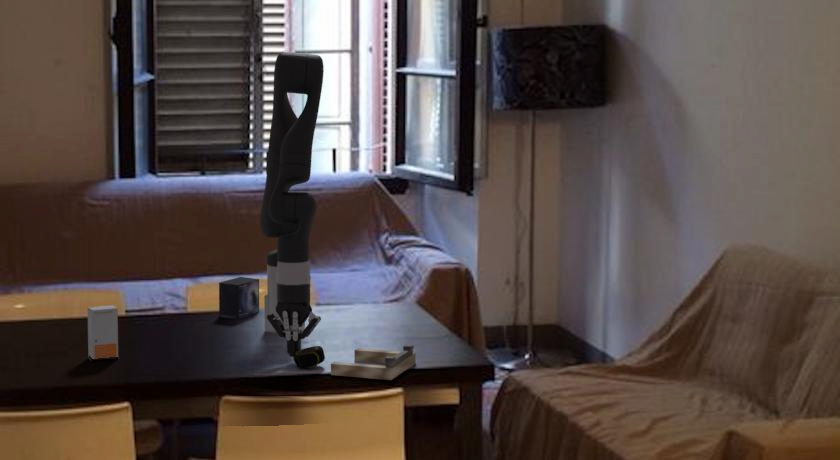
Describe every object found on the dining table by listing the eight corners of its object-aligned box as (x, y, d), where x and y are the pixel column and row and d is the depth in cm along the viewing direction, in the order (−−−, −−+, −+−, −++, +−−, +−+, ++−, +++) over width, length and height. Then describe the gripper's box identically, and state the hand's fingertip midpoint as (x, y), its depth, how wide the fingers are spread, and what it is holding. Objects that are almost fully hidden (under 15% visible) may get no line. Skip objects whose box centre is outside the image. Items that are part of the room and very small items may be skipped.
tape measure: (324, 357, 293) (320, 342, 292) (327, 365, 286) (323, 349, 285) (295, 365, 292) (291, 350, 291) (297, 374, 285) (293, 358, 284)
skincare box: (92, 362, 293) (91, 310, 292) (88, 358, 297) (86, 306, 296) (119, 359, 296) (117, 307, 295) (114, 355, 300) (113, 304, 298)
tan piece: (330, 374, 282) (330, 354, 282) (357, 358, 297) (357, 339, 297) (391, 380, 278) (391, 359, 277) (415, 363, 293) (415, 344, 292)
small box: (239, 324, 336) (238, 284, 334) (217, 321, 338) (217, 282, 337) (261, 316, 345) (260, 278, 344) (240, 314, 348) (239, 276, 346)
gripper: (259, 281, 290) (260, 357, 292) (313, 285, 285) (314, 362, 287) (273, 276, 297) (274, 350, 299) (327, 279, 292) (327, 354, 295)
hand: (294, 355), depth 293 cm, fingers closed
